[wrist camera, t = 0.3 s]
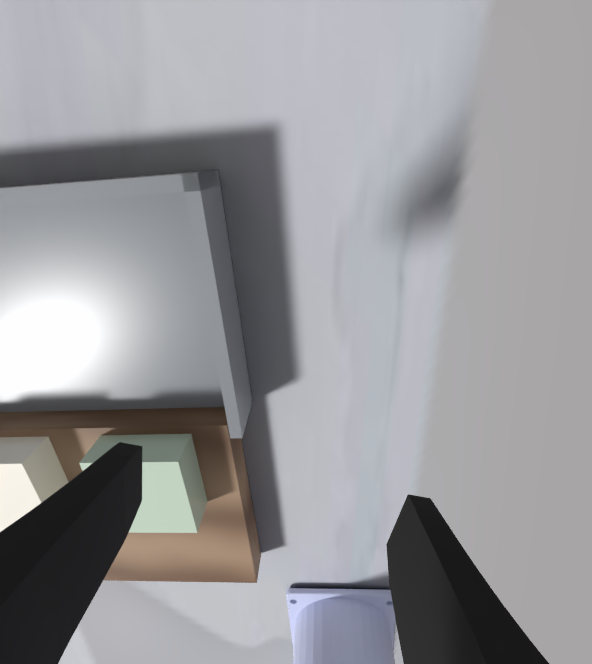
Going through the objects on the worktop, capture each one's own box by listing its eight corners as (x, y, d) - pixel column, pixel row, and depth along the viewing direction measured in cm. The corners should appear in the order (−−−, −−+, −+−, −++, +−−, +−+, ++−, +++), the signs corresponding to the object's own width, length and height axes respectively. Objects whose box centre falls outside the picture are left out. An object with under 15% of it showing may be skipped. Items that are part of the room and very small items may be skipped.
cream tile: (77, 502, 23) (56, 532, 21) (-1, 502, 23) (-28, 532, 21) (48, 436, 20) (21, 463, 19) (-37, 438, 21) (-71, 464, 19)
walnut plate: (261, 553, 27) (256, 582, 25) (36, 551, 28) (16, 578, 26) (234, 402, 21) (226, 425, 19) (-43, 409, 23) (-74, 431, 21)
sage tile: (207, 501, 22) (197, 532, 20) (125, 501, 22) (108, 532, 21) (191, 433, 20) (178, 461, 18) (100, 435, 20) (79, 463, 18)
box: (252, 401, 21) (242, 438, 18) (-58, 409, 23) (-109, 444, 20) (218, 169, 16) (197, 172, 13) (-178, 201, 18) (-268, 209, 15)
